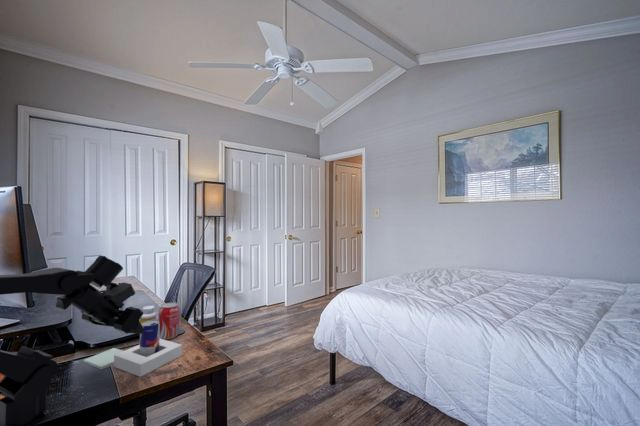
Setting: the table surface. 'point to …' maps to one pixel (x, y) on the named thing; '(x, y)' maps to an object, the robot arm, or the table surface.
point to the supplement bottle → (148, 314)
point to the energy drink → (149, 338)
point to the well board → (147, 358)
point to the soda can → (169, 320)
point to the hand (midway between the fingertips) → (132, 328)
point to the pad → (103, 359)
